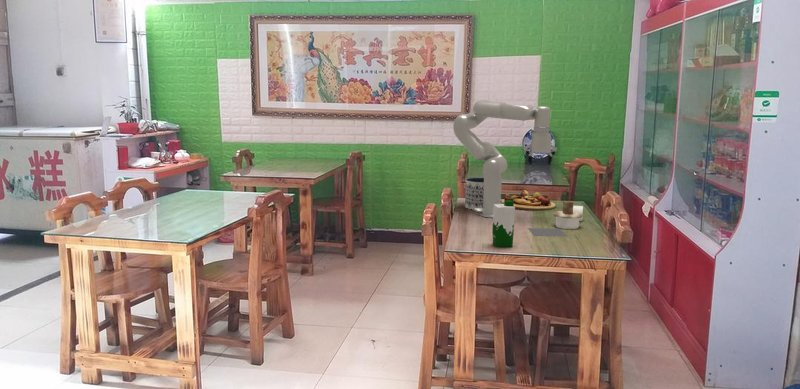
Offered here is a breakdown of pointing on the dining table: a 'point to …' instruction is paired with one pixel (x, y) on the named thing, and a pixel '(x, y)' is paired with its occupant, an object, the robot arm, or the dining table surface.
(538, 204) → the wooden plate with food
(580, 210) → the mug
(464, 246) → the dining table surface
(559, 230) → the mat
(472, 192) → the planter
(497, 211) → the milk carton
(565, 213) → the lid
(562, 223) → the bowl
